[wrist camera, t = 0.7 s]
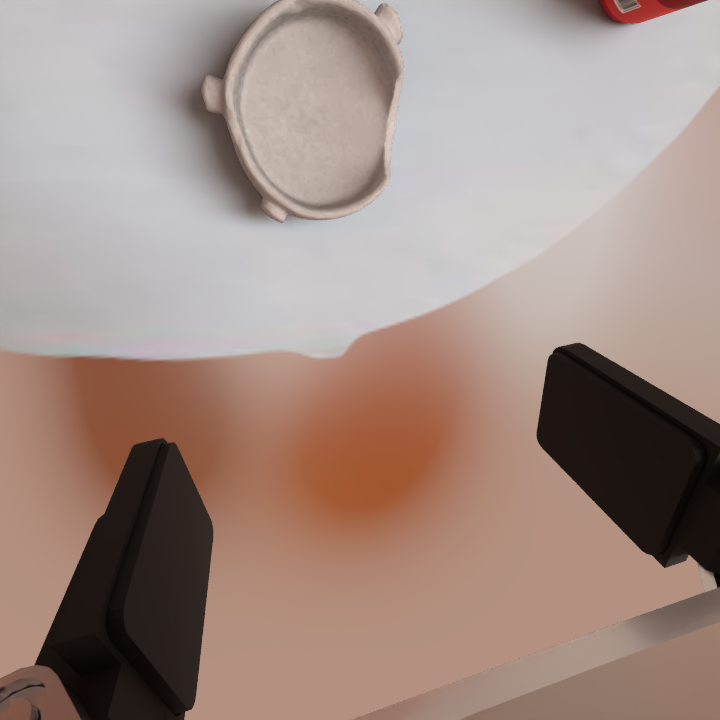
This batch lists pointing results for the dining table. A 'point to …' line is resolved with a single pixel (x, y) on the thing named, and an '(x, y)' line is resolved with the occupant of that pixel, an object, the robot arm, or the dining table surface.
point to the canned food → (642, 9)
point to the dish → (313, 105)
